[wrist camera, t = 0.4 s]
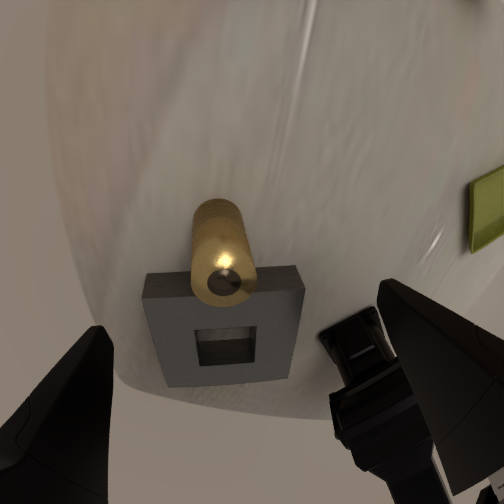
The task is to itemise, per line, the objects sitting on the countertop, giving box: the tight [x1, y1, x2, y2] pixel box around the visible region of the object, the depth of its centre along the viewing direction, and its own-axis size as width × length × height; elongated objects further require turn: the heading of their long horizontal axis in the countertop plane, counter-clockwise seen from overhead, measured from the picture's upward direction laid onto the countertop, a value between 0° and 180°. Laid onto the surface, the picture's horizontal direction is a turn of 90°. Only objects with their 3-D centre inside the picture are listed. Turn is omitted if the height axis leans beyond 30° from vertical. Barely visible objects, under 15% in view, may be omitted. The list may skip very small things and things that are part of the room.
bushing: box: [191, 199, 257, 307], centre depth 19 cm, size 4×4×7 cm
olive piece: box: [469, 165, 504, 254], centre depth 24 cm, size 9×9×2 cm
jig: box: [142, 265, 305, 387], centre depth 26 cm, size 12×12×3 cm
